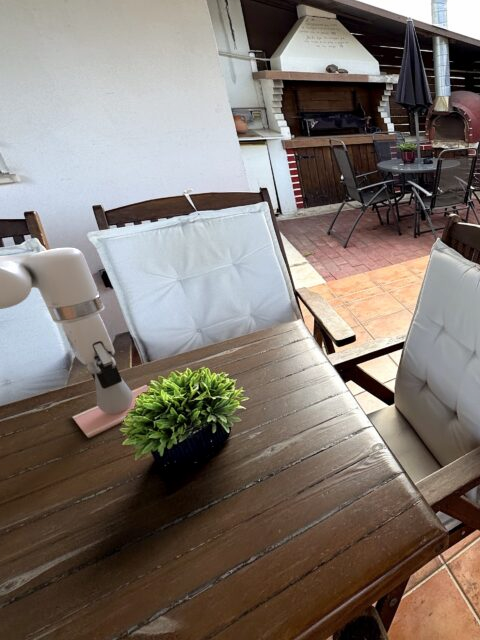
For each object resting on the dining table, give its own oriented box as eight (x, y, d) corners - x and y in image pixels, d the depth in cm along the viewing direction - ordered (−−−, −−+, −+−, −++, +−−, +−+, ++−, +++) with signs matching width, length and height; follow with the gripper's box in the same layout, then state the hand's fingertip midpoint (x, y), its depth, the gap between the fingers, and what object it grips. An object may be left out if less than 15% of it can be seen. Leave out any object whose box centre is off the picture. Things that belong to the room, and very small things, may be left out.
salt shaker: (140, 405, 92) (121, 357, 87) (106, 421, 87) (85, 371, 83) (130, 396, 95) (112, 349, 90) (98, 411, 90) (77, 362, 86)
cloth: (88, 438, 83) (87, 436, 83) (72, 418, 89) (71, 416, 88) (164, 402, 93) (164, 400, 93) (146, 385, 99) (145, 384, 99)
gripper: (39, 304, 83) (73, 377, 90) (62, 326, 75) (98, 404, 81) (89, 291, 89) (117, 360, 95) (115, 310, 81) (144, 384, 87)
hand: (108, 380), depth 88 cm, fingers open, 4 cm apart
